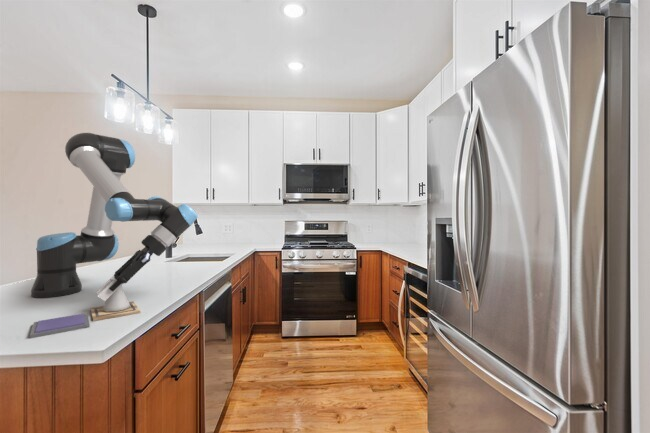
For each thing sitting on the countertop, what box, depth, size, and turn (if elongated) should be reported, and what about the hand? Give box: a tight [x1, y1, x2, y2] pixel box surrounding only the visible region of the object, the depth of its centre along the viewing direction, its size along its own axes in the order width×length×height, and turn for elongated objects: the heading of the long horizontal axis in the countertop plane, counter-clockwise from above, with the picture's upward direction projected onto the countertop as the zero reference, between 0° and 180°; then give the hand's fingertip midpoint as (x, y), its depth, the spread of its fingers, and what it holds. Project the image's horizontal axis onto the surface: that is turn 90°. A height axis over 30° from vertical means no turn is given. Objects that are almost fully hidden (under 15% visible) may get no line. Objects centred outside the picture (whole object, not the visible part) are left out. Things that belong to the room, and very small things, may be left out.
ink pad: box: [29, 313, 91, 339], centre depth 86 cm, size 12×12×1 cm
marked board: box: [90, 300, 141, 322], centre depth 99 cm, size 14×12×1 cm
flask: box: [102, 277, 130, 312], centre depth 100 cm, size 7×7×10 cm
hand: (100, 296), depth 97 cm, fingers open, 4 cm apart
